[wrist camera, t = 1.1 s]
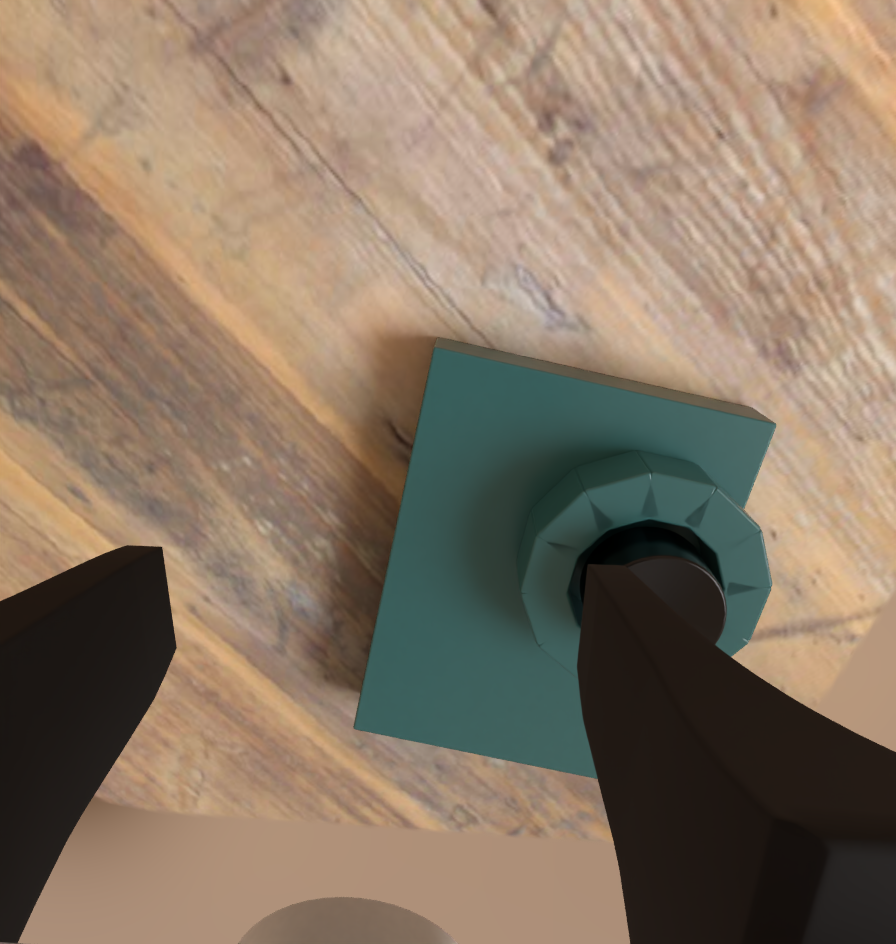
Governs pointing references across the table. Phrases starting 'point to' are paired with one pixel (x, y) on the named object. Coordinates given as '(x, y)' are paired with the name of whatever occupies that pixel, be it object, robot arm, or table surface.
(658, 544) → the button
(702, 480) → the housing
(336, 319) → the table surface
